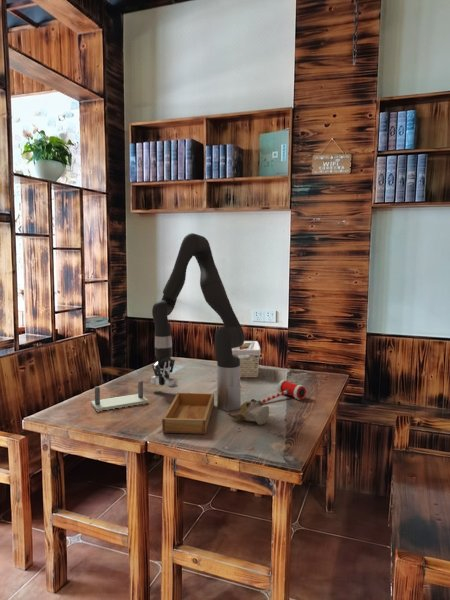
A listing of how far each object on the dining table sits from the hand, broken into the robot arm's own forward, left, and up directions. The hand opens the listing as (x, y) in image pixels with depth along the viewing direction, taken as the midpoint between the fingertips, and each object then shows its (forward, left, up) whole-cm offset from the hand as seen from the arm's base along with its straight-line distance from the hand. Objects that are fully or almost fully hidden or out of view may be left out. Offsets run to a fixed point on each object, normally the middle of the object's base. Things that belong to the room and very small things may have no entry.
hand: (164, 383), depth 203 cm
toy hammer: (-32, -42, -5) cm, 53 cm away
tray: (-34, +3, -5) cm, 34 cm away
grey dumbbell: (0, 0, 0) cm, 0 cm away
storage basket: (+13, -49, -4) cm, 51 cm away
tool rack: (-5, +22, -4) cm, 23 cm away
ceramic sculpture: (-47, -16, -4) cm, 50 cm away
